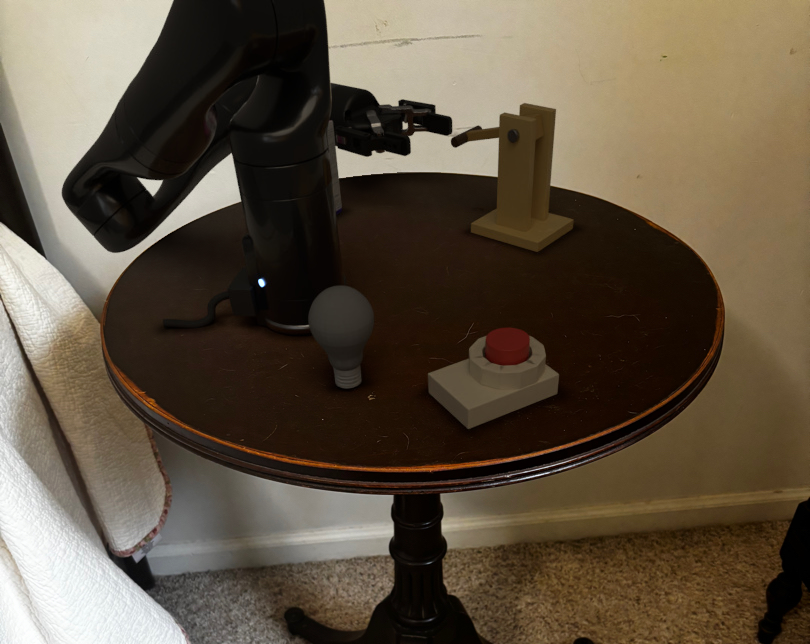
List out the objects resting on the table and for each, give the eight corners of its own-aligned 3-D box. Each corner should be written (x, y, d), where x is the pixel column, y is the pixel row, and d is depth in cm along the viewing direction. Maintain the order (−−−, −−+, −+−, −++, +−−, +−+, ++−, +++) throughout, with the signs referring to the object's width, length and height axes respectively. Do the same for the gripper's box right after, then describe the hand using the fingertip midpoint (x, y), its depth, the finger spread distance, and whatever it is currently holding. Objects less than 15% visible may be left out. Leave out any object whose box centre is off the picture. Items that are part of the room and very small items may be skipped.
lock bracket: (470, 232, 101) (471, 114, 91) (507, 210, 105) (511, 95, 95) (537, 252, 96) (545, 129, 86) (572, 228, 100) (584, 109, 91)
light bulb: (371, 404, 75) (362, 307, 68) (310, 400, 76) (295, 304, 69) (385, 370, 79) (378, 275, 72) (327, 366, 80) (314, 272, 73)
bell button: (501, 372, 72) (502, 355, 70) (476, 352, 74) (477, 335, 73) (537, 358, 73) (538, 341, 72) (512, 339, 75) (513, 322, 74)
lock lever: (452, 153, 98) (448, 132, 96) (477, 141, 100) (473, 120, 99) (526, 145, 91) (522, 122, 89) (550, 132, 93) (547, 109, 92)
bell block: (468, 429, 72) (468, 392, 69) (428, 392, 76) (426, 356, 73) (557, 394, 75) (561, 357, 72) (514, 360, 79) (516, 324, 77)
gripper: (375, 129, 116) (464, 150, 108) (305, 160, 108) (395, 185, 100) (370, 72, 111) (464, 89, 103) (297, 99, 103) (391, 120, 95)
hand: (430, 136), depth 102 cm, fingers open, 8 cm apart
